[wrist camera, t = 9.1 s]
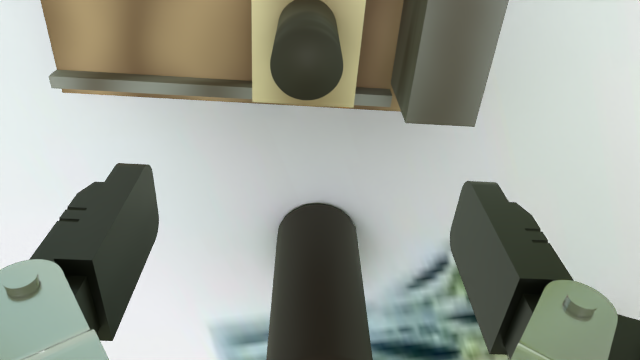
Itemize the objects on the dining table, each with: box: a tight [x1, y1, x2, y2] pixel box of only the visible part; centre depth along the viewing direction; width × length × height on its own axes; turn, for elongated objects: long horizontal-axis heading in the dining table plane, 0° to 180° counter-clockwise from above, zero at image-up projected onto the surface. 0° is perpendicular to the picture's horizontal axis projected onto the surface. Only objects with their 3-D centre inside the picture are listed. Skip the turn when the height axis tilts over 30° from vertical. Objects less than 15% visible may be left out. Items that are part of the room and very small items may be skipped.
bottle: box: [266, 204, 373, 360], centre depth 33 cm, size 7×7×20 cm
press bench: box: [41, 0, 509, 127], centre depth 28 cm, size 28×13×8 cm, turn 86°
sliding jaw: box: [251, 0, 366, 108], centre depth 25 cm, size 6×9×10 cm, turn 176°
